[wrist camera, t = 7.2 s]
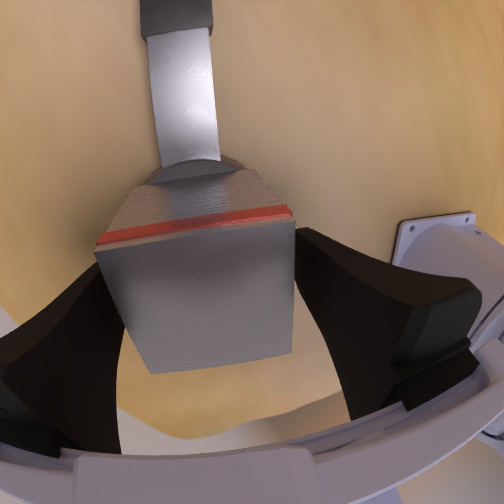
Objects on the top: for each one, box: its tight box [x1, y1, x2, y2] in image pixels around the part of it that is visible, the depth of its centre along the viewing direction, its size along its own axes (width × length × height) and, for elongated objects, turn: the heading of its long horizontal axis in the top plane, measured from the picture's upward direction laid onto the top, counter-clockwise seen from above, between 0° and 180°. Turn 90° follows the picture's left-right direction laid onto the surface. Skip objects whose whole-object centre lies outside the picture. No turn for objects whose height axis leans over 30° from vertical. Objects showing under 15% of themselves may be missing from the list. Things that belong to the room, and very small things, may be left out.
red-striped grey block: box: [94, 169, 295, 374], centre depth 10 cm, size 5×5×6 cm
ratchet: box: [140, 0, 247, 185], centre depth 10 cm, size 7×19×5 cm, turn 4°
